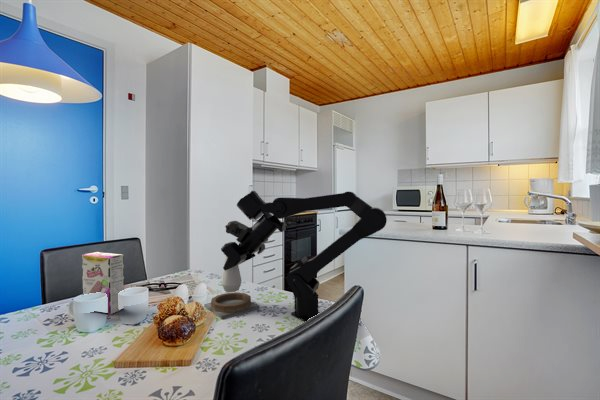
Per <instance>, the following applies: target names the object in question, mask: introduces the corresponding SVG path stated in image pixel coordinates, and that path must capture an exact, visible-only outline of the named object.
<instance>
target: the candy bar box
mask: <svg viewBox="0 0 600 400" xmlns="http://www.w3.org/2000/svg"><path fill="white" fill-rule="evenodd" d="M124 255H125V254H121V253H111V252H101V251H93V252H89V253H84V254H82V255H81V274H82V276H81V278H82V296H83V295H84V294H89V293H96V292H101V293H106V294H107V297H108V314H107V315H109V316H111V315H114V314H116V313H118V312H120V311H119V309H118V293H119V292H120V291H122V290H124V291H125V264H124V263H125V262H124V261H125V260H124V259H125V258H124ZM115 312H116V313H115ZM113 313H114V314H113Z"/></svg>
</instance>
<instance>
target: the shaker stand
mask: <svg viewBox="0 0 600 400" xmlns="http://www.w3.org/2000/svg"><path fill="white" fill-rule="evenodd" d="M251 297H252V296H251V295H249V294H247V293H244V292H238V291H235V292H225V293H221V294H218V295H216V296H213V297H212V298H211V300H210V302H208V303H207V302H206V303H205V304H203V307H204V309H206V310H207V311H209V312H211V313H212V312H213V313H212V314H214V313H215V314H216V315H215V314H214V315H215V316H217V317H218V318H220V319H221V320H224V319H228V318H230V317H234V316H237V315H241V314H245V313H247V312H251V311H254V310H258V309H260V305H259V304H257V303H254V302H253V301H252V298H251Z"/></svg>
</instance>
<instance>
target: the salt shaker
mask: <svg viewBox="0 0 600 400" xmlns="http://www.w3.org/2000/svg"><path fill="white" fill-rule="evenodd" d="M227 258H228V257H227V256H226V255H225V258H224V259H225V260H224V265H225V263H226V261H227ZM221 278H222V279H221V286H222V289H223V290H224V291H225V293H236V292H238V291H239V290H240V288H241V285H242V281H243V280H242V275H241V271H240V267H239V265H237V266H234V267H232V268H230V269H228V270H226V271H225V270H224V269H223V272H222V277H221Z"/></svg>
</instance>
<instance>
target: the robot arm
mask: <svg viewBox="0 0 600 400" xmlns="http://www.w3.org/2000/svg"><path fill="white" fill-rule="evenodd" d="M236 207H237V208H238V209H239V210H240V211H241V212H242V213H243V215H244V216H246V217H247V219H248V220H249V221H251V220H254V221H256V220H257V221H256V222H255V223H254V224H253V225H252V226H251V227H250V226H247V225H245V224H243V223H242V222H239V221H238V220H232V221H229V222H227V224H226V225H225V226H224V227H225V233H227V234H230V235H232V236H234V237H235V238H236V241H237V242H236V241H230V242H227V243H224V245H222V246H221V248H220V250H221V252H222V253H223V255H224V256H225V257H226V256H227V257H228V258H227V261H226V263H225V262H224V264H225V265H224V266H223V267H222V268H223V270H225V271H226V270H228V269H230V268H232V267H234V266H237V265H238V266H239V265H241V264H243V263H245V262H247V261H249V260H251V259H252V258H255V257H256V254H257V255H260V254H262V253H263V252H264V251H265V250H266V244H265V243H267V242H268V241H269V238H270V237H271V236H272V235H273V234H274V233H275V232H276V231H277V230H278V231H279V232H280V233H282V232H283V233H284V232H285V231H286V229H287V228H286V221H281V220H280V219H285V218H288V217H289V218H290V217H292V216H295V215H298V214H299V215H300V214H302V213H305V212H311V211H319V210H325V209H333V208H341V207H342V208H343V207H345V208H346V207H347V209H349V210H350V211H351V212H352V213H354V214H355V215H356V216H357V217H358V218H359V220H357V222H356V223H355V224H354V225H353V226H352V227H351V228H350V229H348V231H346V232H345V233H343V234H342V235H341V236H339V237H338V238H337V239H336V240H334V241H333V242H332V243H331V244H330V245H328V246H327V247H325V249H322V251H320V252H319V253H317V255H315V256H314V257H312V258H310V259H308V257H307V256H306V255H305V256H304V257H303V258H301V259H300V260H299V261H298V262H296V263H295V264H294V265H292V266H291V267H290V268H289V272H288V273H287V276H286V283H287V286H288V287H289V288H290V289H291V290H292V294H293V297H294V298H293V299H294V311H292V312H291V311H290V316H293V317H295V318H297V319H299V320H301V321H304V322H307V321H306V320H308V319H309V318H311V317H313V316H315V315H317V314H318V313H321V312H320V311H319V294H318V292H317V290H318V289H319V286H320V281H319V280H318V279H317V278H316V275H317V274H318V273H319V272H321V270H322V269H323V268H325V267H326V266H328V265H329V264H330V263H331V262H333V261H334V260H335V259H337V258H338V257H339V256H341V255H342V254H343V253H345V252H346V251H347V250H348V249H350V248H351V247H353V245H355V244H356V243H358V242H359V241H360V240H363V239H365V238H368V237H369V236H372V235H373V234H376V233H378V232H379V231H381V230H383V229H384V228H385V227H386V225H387V214H386V213H385V211H384V210H383V209H381V208H379V207H373V206H371V205H370V204H368V203H367V202H365V201H364V200H363V199H362V198H360V197H358V196H357V194H356V193H354V192H353V191H345V192H341V193H333V194H327V195H321V196H313V197H305V198H304V197H289V196H288V197H287V196H286V197H276V198H274V200H273V201H272V202H271V201H270V202H266V201H264V199H262V197H261V196H260V195H259V193H258V192H257V191H255V190H251V191H250V192H249V193H247V194H246V195H245V196H243V197H242V198H240V199H239V200H238V202H236ZM255 253H256V254H255Z"/></svg>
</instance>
